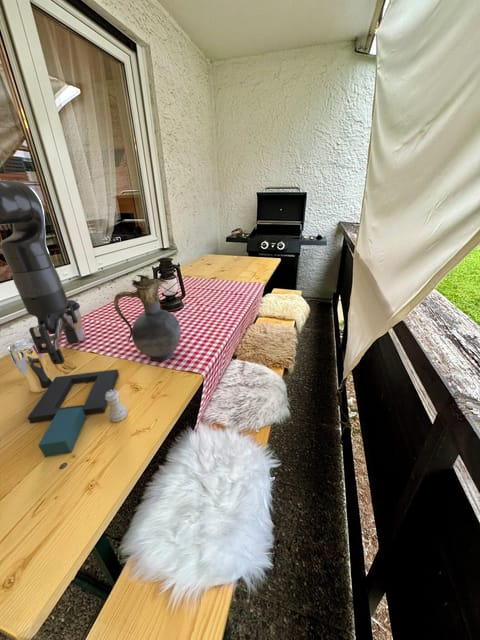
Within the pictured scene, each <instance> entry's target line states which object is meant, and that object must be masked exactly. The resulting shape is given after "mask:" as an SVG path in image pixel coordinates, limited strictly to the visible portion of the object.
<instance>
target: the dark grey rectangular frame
mask: <svg viewBox="0 0 480 640" xmlns="http://www.w3.org/2000/svg"><path fill="white" fill-rule="evenodd" d="M119 375H120V373H119V370H118V369H109V370H101V371H93V372H86V373H77V374H70V375H68V374H67V375H61V376H55V377H54V378H53V379H54V380H53V382H52V383H51V384H50V386H49V387H48V389H47V390H45V391H44V393H43V395H42V396H41V398H40V399H39V400H38V402H37V403H36V405H35V406H34V407H33V409H32V410H31V412H30V413H29V415H28V416H27V420H28V421H29V423H30V424H35V423H43V422H48V421H52V420H53V418H54V417H55V415H56V413H57V412H58V410H64V409H71V408H78V407H82V409H83V411H84V414H85V416H90V415H96V414H103V413H105V412H106V410H107V408H108V405H109V404H108V401H107V400H106V399H105V396H106V394H107V392H110V390H112V391H113V390H115V389H114V388H115V387H116V386H115V385H116V383H117V381H118V377H119ZM91 382H92V383H93V382H94V383H93V385H92V387H91V389H90V391H89V393H88V395H87V398H86V399H85V402H84V404H79V405H71V406H63V407H62V405H63V404H64V401H65V399H66V398H67V396H68V395H69V393H70V391H71V389H72V388H73V386H74V385H76V384H84V383H91Z"/></svg>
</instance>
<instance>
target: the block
mask: <svg viewBox="0 0 480 640" xmlns="http://www.w3.org/2000/svg"><path fill="white" fill-rule="evenodd" d="M86 420H87V415H85V414H84V411H83V409H82V407H78V408H71V409H64V410H58V412H57V413H56V415H55V417H54V418H53V420H51V422H50V424H49V425H48V427H47V428H46V431H44V434H43V436H42V437H41V439H40V441H39V443H38V445H37V446H38V448H39V449H40V451H41V454H42V455H43V456H44V458H47V456H48V457H54V456H60V455H65V454H71V453H73V450H74V447H75V446H76V443H77V440H78V438H79V436H80V434H81V431H82V429H83V427H84V425H85V422H86Z"/></svg>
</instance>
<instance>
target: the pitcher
mask: <svg viewBox="0 0 480 640" xmlns="http://www.w3.org/2000/svg"><path fill="white" fill-rule="evenodd" d="M135 276H137V277H139V280H138V281H137V280H136V279H132V280H131V285H132V287H134V288H135V289H136V291H127V290H125V291H124V290H123V291H120V292H118V293H116V295H115V296H114V299H113V304H114V305H113V306H114V310H115V311H116V313H117V314H118V316H119V317H120V319H121V320H123V321H124V323H126V325H127V326H128V328H129V332H130V333H129V336H128V339H127V343H129V342H130V340H131V339H132V342H133V345H134V346H135V348H136V349H137V350H138V351H139V352H140V353H141V354H142V355H145V356H149V358H150V359H151V360H152V361H155V362H162V361H166V360H168V359H170V358H172V356H173V355H174V350H176V349H177V347H178V346H179V344H180V341H181V337H182V329H181V328H182V327H181V324H180V322H179V320H178V318H177V317H176V315H174V314H173V313H172V312H170V311H167V310H166V309H161V304H160V296H159V295H160V294H159V289H160V287H161V286H162V285H163V284H165V285H166V284H169V281H167V280H166V279H163V278H161V277H154V278H151V276H150V275H149V274H145V275H143V274H135ZM125 297H127V298H137V299H139V300H140V302H141V304H142V305H143V310H144V311H143V313H140V315H139V316H138V317H137V318H136V319H135V320H134V322H133V325H131V322H129V321H128V319H127V318H126V317H125V316H124V314H123V313H122V310H121V309H120V306H119V300H120V299H122V298H125ZM131 337H132V338H131Z"/></svg>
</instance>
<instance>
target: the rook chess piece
mask: <svg viewBox="0 0 480 640" xmlns="http://www.w3.org/2000/svg"><path fill="white" fill-rule="evenodd" d="M119 396H120V392H119V391H118V390H116V389H113V391H112V390H110V392H107V394H106V396H105V399H106V400H107V401H108V405H109V410H108V419H109V421H110V422H114V423H117V422H121V421H122V420H125V418H126V417H127V415H128V409H127V407H126V406H125V405H123V404H122V403H121V400H120V397H119Z"/></svg>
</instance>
